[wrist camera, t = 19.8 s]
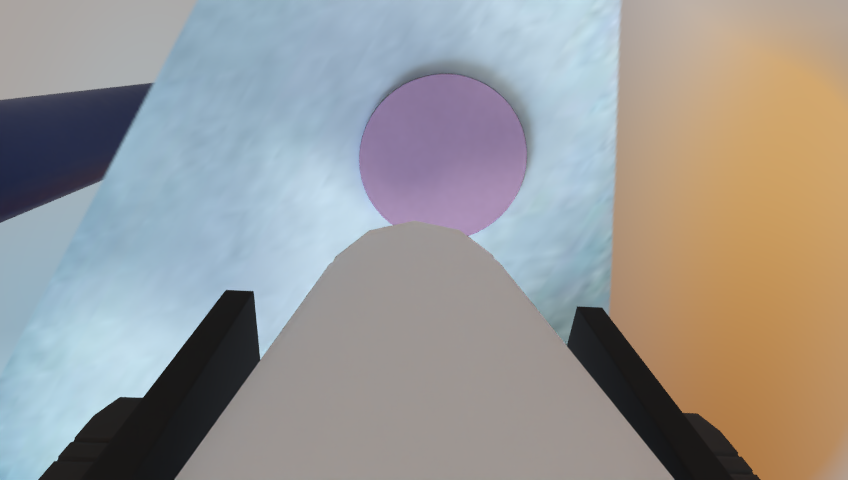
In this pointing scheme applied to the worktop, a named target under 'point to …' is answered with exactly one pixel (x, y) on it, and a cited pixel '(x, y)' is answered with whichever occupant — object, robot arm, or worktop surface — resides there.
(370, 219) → the worktop surface
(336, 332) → the foam cup
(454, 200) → the lilac coaster
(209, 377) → the robot arm
